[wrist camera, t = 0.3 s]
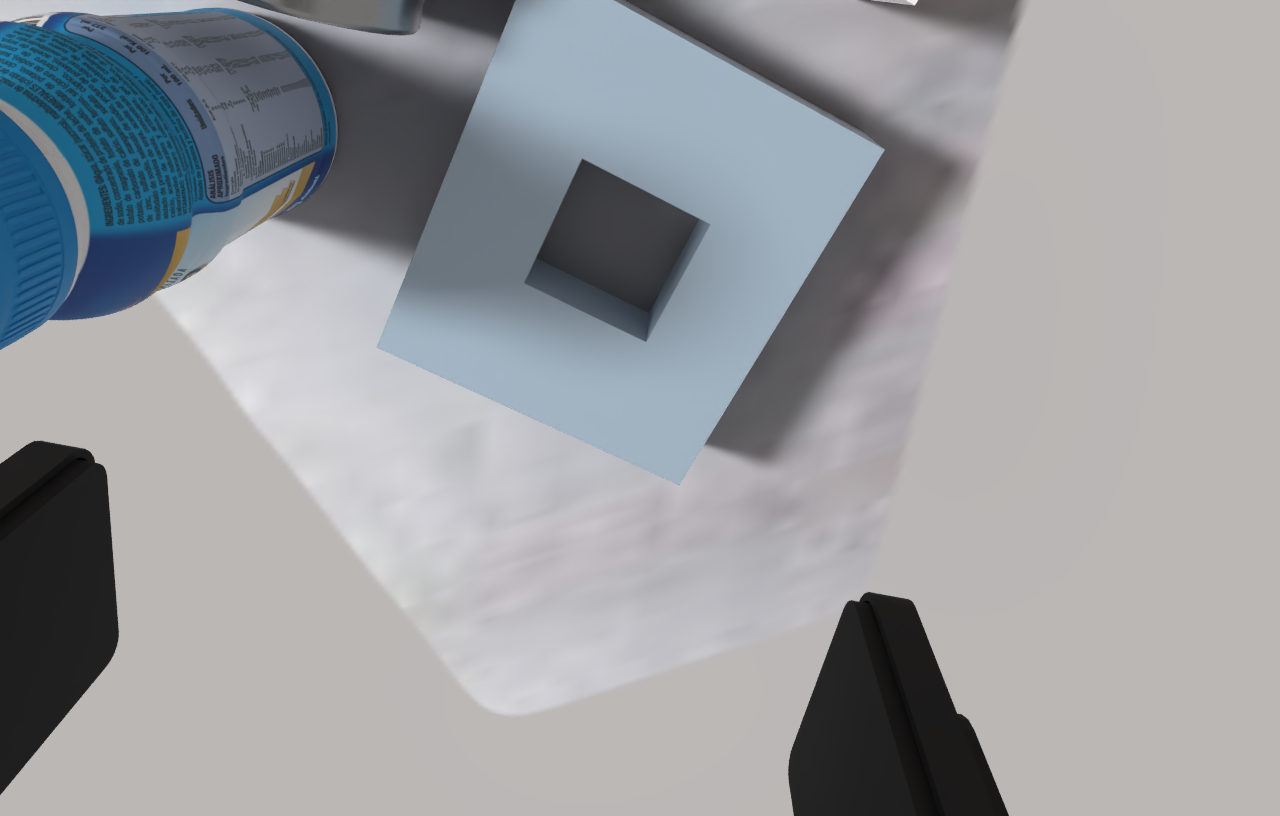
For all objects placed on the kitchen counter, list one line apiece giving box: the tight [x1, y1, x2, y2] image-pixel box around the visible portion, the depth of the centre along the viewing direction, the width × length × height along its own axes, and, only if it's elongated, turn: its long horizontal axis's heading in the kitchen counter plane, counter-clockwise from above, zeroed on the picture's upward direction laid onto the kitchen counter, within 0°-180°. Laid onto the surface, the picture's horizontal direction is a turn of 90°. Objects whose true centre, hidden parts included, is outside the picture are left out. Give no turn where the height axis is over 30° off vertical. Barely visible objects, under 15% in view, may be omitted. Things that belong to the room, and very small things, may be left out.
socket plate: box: [377, 0, 884, 485], centre depth 36 cm, size 16×14×4 cm
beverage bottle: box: [0, 8, 338, 350], centre depth 28 cm, size 8×8×20 cm
